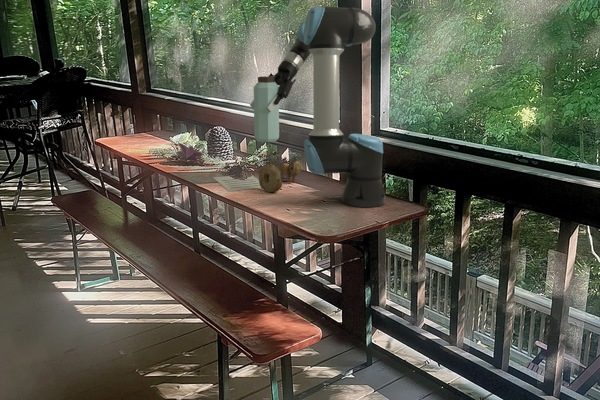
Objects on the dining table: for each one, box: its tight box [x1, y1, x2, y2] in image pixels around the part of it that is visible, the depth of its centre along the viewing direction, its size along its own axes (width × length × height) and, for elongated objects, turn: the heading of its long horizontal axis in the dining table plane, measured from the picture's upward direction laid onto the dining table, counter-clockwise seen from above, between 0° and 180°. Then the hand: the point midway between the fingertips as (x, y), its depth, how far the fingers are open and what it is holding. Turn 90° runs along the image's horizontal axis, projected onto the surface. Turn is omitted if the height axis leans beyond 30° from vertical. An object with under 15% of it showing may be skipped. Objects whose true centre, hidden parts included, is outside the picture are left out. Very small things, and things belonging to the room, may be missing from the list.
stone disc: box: [258, 164, 283, 193], centre depth 211 cm, size 10×4×10 cm, turn 46°
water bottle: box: [253, 75, 280, 143], centre depth 228 cm, size 10×10×25 cm
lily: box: [175, 142, 205, 167], centre depth 254 cm, size 12×12×10 cm
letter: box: [212, 174, 262, 192], centre depth 225 cm, size 22×16×1 cm
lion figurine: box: [280, 160, 304, 185], centre depth 227 cm, size 15×5×9 cm, turn 36°
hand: (260, 108), depth 225 cm, fingers closed on water bottle, 10 cm apart
